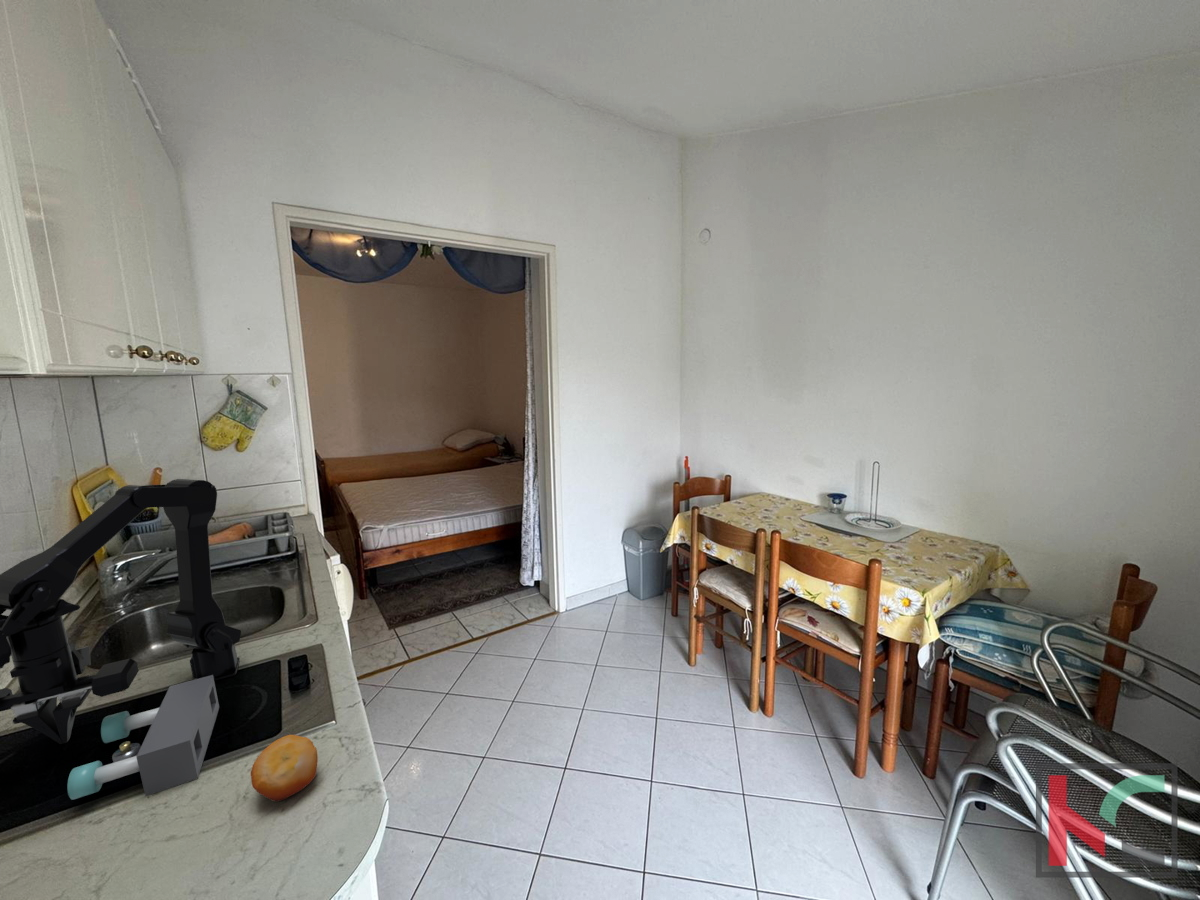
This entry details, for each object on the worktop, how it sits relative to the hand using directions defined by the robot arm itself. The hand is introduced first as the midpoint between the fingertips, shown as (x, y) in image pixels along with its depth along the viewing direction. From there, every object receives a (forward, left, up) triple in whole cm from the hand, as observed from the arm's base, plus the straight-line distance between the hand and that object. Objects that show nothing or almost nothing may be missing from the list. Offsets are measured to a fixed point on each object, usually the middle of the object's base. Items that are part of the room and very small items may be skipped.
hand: (65, 741), depth 78 cm
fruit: (-31, +24, -4) cm, 39 cm away
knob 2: (-9, +12, -2) cm, 15 cm away
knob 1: (-9, 0, -2) cm, 9 cm away
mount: (-16, +6, -4) cm, 17 cm away
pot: (-9, +6, -4) cm, 11 cm away
